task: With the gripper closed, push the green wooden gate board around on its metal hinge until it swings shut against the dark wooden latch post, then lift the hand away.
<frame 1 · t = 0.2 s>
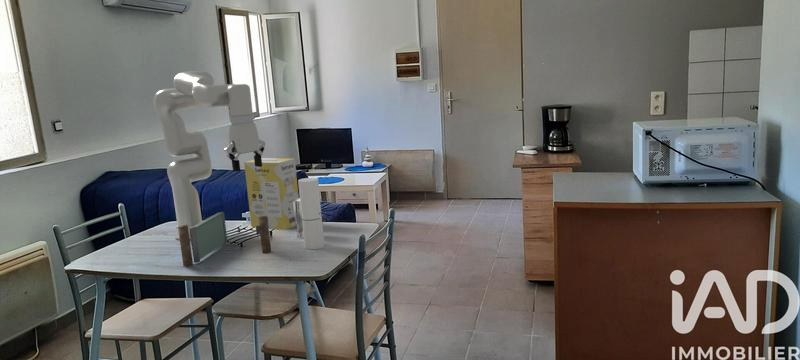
hand: (247, 168, 203), 31 cm above the table, tool pointing down, fingers open, 9 cm apart
latch post: (266, 251, 209), on the table
hinge post: (188, 264, 200), on the table
pasta box: (276, 225, 246), on the table
beer glass: (305, 237, 225), on the table
cylindrical container: (314, 246, 212), on the table
gate: (209, 235, 209), point 7 cm above the table, hinge at 60.0°
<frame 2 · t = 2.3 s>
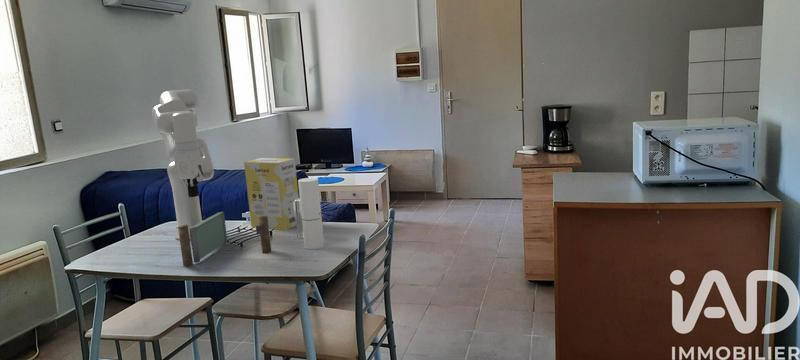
hand: (193, 196, 211), 21 cm above the table, tool pointing down, fingers closed
nothing on the table moved.
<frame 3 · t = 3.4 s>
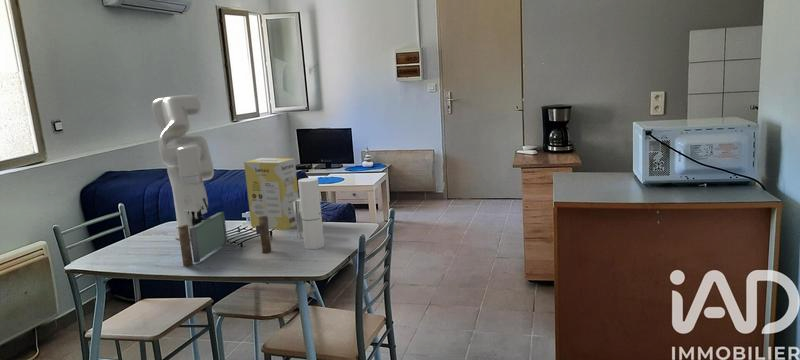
hand: (198, 228, 213), 9 cm above the table, tool pointing down, fingers closed
nothing on the table moved.
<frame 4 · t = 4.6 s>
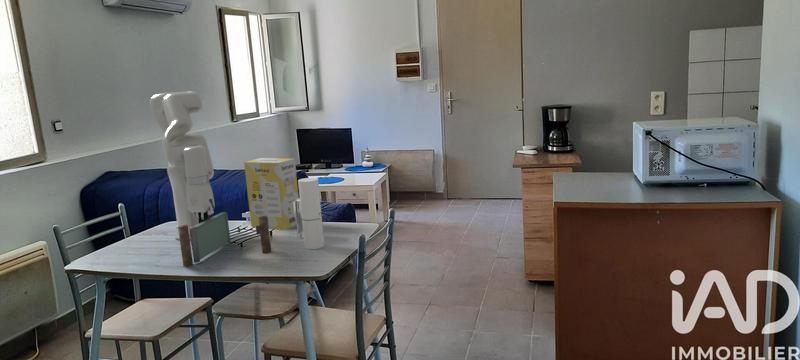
hand: (204, 229, 212), 9 cm above the table, tool pointing down, fingers closed
gate: (210, 235, 209), point 7 cm above the table, hinge at 56.6°, touching gripper
everything else where it was.
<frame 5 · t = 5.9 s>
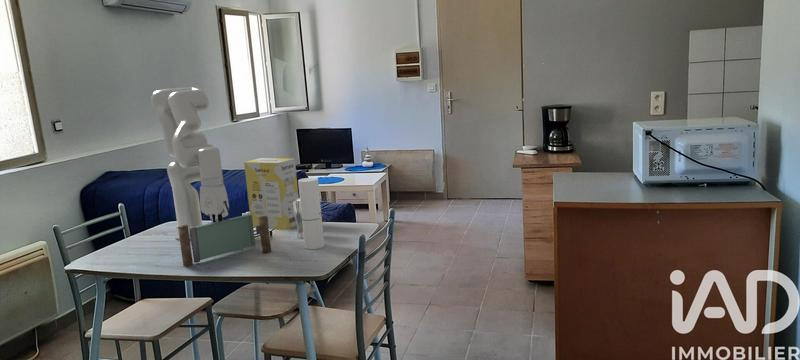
hand: (218, 231, 209), 8 cm above the table, tool pointing down, fingers closed
gate: (223, 237, 206), point 7 cm above the table, hinge at 20.8°, touching gripper
everything else where it was.
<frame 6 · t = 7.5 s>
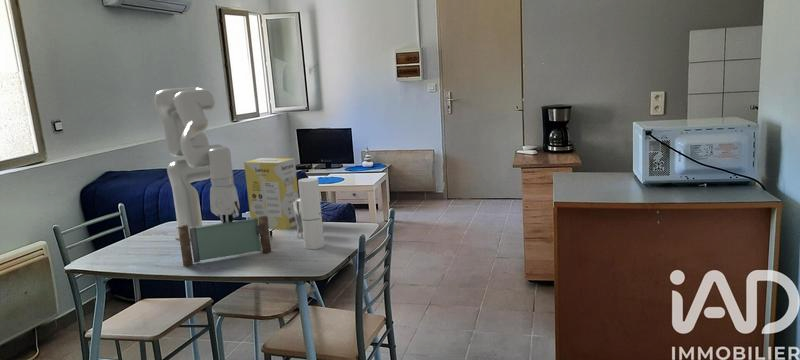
hand: (228, 232, 206), 9 cm above the table, tool pointing down, fingers closed
gate: (226, 239, 203), point 7 cm above the table, hinge at 0.0°, touching gripper
everything else where it was.
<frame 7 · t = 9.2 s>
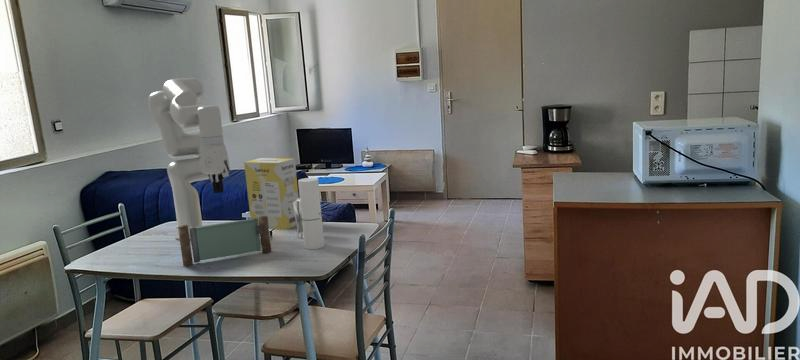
hand: (218, 192, 205), 23 cm above the table, tool pointing down, fingers closed
gate: (226, 239, 203), point 7 cm above the table, hinge at 0.0°
everything else where it was.
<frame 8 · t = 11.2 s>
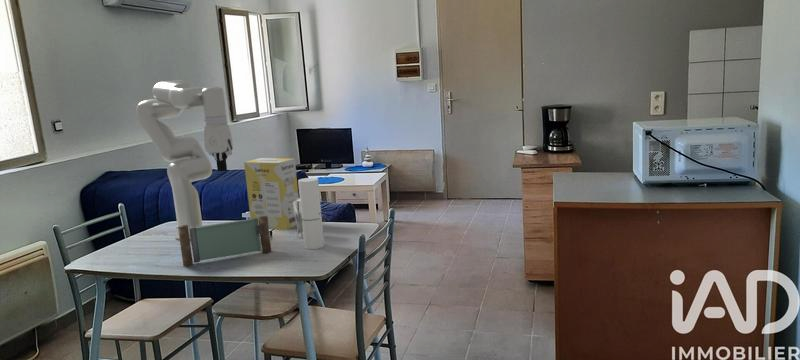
hand: (222, 170, 214), 29 cm above the table, tool pointing down, fingers closed
nothing on the table moved.
at the end: gate at +0° (first picture: +60°) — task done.
